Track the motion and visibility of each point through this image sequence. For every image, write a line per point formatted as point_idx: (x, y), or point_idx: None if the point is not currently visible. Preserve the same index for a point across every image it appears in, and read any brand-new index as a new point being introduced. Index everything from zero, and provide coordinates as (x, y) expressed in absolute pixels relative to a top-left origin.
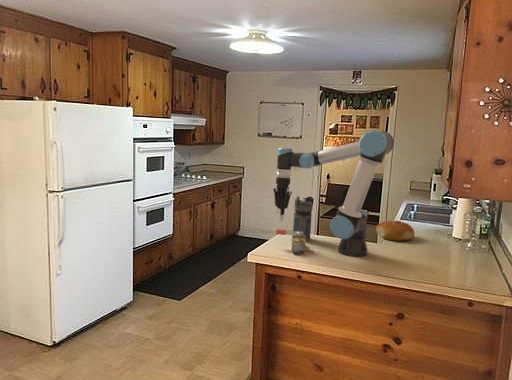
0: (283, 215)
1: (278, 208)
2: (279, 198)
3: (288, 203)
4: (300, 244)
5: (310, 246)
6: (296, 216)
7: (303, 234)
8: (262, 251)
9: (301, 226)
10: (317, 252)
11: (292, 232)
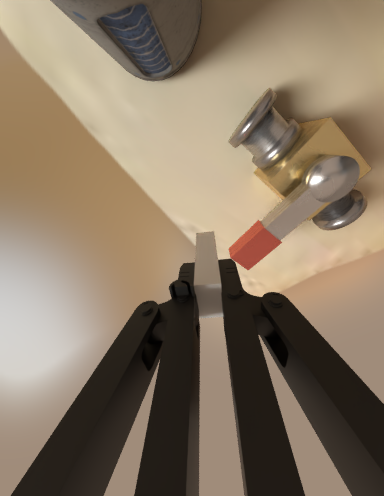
0: (215, 247)
1: (200, 317)
2: (198, 446)
3: (330, 346)
4: (360, 210)
5: (292, 72)
6: (114, 3)
7: (196, 22)
8: (246, 278)
9: (183, 11)
10: (378, 109)
11: (306, 216)
